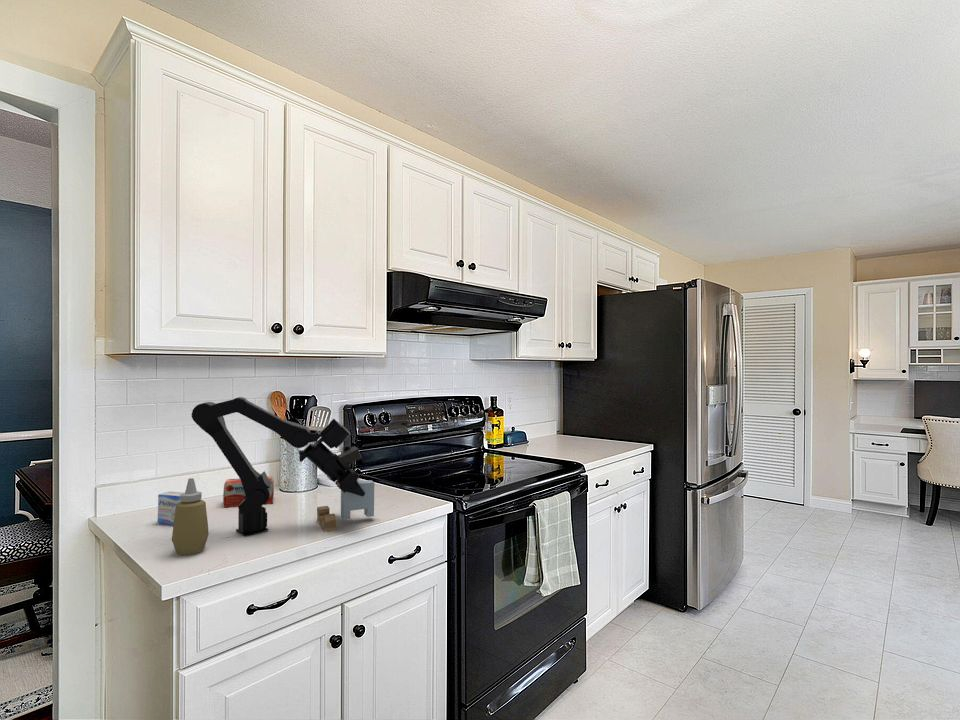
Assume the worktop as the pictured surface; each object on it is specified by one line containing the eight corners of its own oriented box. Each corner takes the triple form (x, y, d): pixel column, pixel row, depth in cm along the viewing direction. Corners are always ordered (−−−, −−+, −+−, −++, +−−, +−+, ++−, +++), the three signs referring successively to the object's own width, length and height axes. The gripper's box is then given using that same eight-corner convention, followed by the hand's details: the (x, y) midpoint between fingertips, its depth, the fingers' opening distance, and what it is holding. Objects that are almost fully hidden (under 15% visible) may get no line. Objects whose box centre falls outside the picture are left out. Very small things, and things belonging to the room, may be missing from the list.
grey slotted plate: (343, 520, 149) (343, 485, 149) (340, 517, 152) (341, 483, 152) (374, 516, 153) (374, 482, 154) (370, 513, 157) (371, 480, 157)
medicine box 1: (156, 524, 149) (157, 494, 149) (169, 519, 153) (169, 490, 153) (179, 526, 147) (180, 496, 147) (191, 522, 151) (192, 492, 152)
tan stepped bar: (336, 530, 144) (336, 516, 144) (325, 532, 143) (325, 517, 143) (327, 519, 155) (327, 505, 155) (317, 520, 153) (317, 507, 153)
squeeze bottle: (173, 560, 122) (173, 484, 122) (169, 550, 129) (170, 477, 129) (211, 552, 127) (212, 479, 127) (206, 543, 133) (206, 473, 133)
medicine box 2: (273, 498, 179) (274, 475, 179) (273, 504, 171) (273, 480, 172) (225, 502, 173) (225, 478, 174) (223, 508, 166) (223, 483, 166)
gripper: (352, 442, 143) (390, 479, 148) (337, 434, 160) (372, 467, 165) (323, 473, 139) (363, 509, 144) (311, 462, 156) (347, 494, 161)
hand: (362, 493), depth 154 cm, fingers closed on grey slotted plate, 3 cm apart
